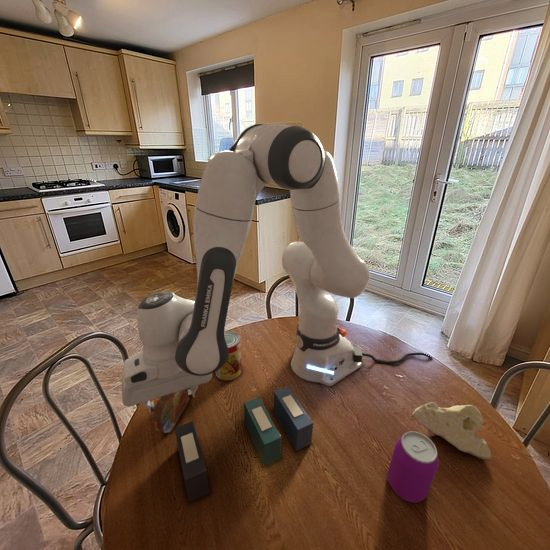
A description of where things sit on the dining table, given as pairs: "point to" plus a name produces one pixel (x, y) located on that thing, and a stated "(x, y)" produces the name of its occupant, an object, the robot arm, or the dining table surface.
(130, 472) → the dining table surface
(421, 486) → the beverage can
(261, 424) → the block
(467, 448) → the cheese
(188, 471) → the block
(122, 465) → the dining table surface
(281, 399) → the block
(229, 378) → the canned food
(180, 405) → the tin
